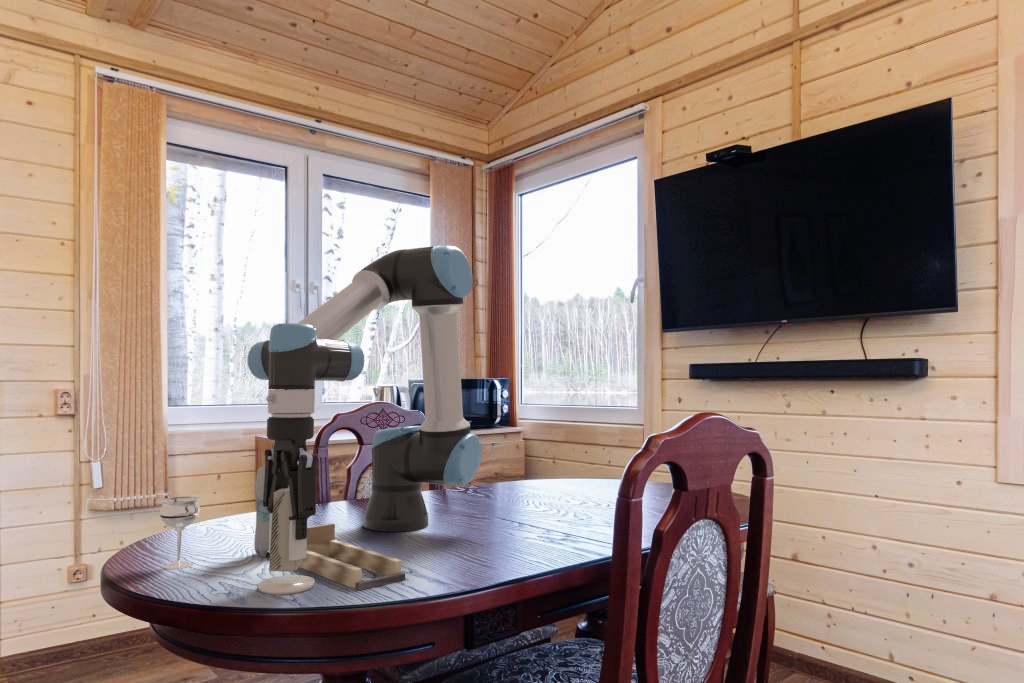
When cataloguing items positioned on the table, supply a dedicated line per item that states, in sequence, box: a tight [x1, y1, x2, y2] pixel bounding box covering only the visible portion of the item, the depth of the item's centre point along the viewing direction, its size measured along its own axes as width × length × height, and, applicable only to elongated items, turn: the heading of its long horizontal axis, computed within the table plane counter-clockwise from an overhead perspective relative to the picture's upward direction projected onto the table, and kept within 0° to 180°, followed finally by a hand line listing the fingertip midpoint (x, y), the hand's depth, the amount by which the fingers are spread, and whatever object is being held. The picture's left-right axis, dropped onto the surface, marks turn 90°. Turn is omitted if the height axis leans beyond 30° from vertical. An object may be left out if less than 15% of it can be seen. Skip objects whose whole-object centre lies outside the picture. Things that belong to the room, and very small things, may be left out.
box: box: [268, 488, 302, 572], centre depth 116 cm, size 5×4×13 cm
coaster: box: [257, 574, 316, 596], centre depth 116 cm, size 9×9×1 cm
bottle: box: [253, 465, 289, 558], centre depth 138 cm, size 7×7×20 cm
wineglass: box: [159, 496, 201, 570], centre depth 129 cm, size 7×7×12 cm
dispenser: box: [298, 522, 406, 591], centre depth 126 cm, size 24×9×6 cm, turn 45°
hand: (287, 555), depth 116 cm, fingers closed on box, 6 cm apart
